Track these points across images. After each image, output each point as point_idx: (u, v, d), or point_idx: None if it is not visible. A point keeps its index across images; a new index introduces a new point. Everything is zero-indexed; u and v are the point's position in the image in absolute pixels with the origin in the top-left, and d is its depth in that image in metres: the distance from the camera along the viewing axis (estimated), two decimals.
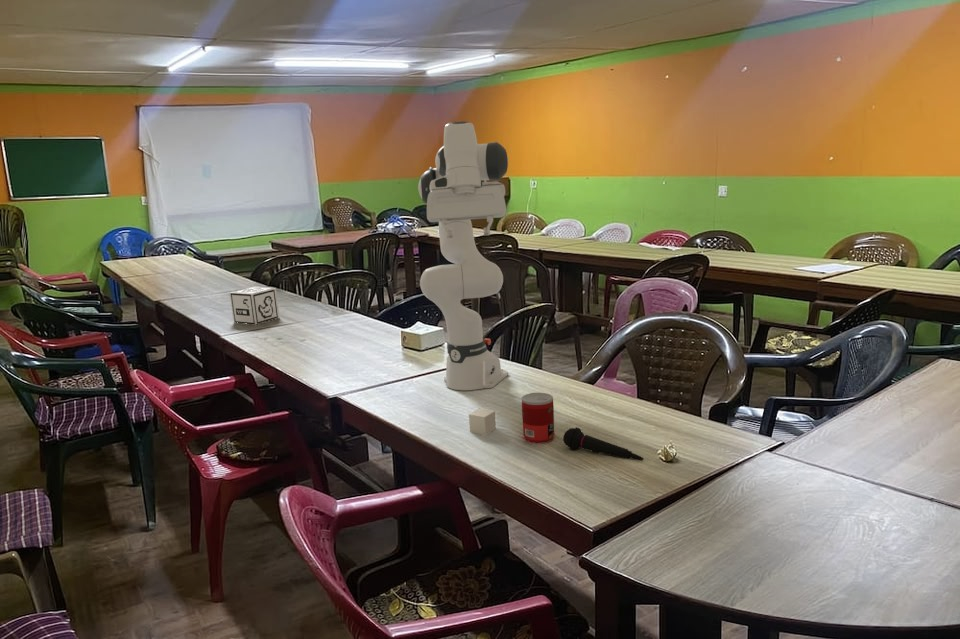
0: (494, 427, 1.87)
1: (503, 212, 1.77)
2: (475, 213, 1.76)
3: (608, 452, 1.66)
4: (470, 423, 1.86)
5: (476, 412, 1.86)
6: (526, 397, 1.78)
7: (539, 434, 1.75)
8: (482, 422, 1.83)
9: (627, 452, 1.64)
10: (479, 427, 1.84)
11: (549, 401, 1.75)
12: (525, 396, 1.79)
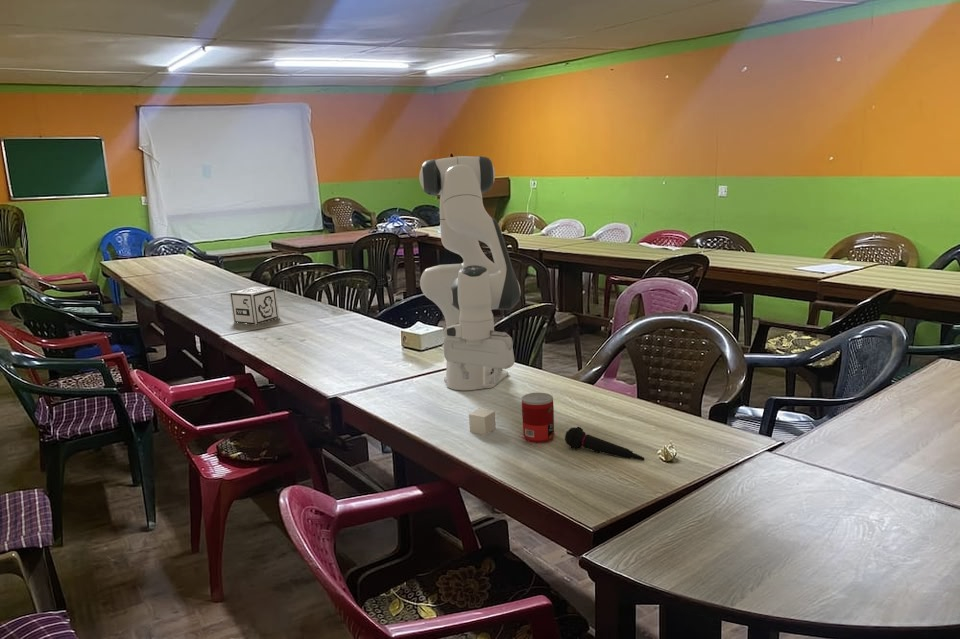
0: (494, 427, 1.87)
1: (505, 367, 1.76)
2: (481, 363, 1.80)
3: (609, 452, 1.66)
4: (470, 423, 1.86)
5: (476, 412, 1.86)
6: (526, 397, 1.78)
7: (539, 434, 1.75)
8: (482, 422, 1.83)
9: (628, 452, 1.64)
10: (479, 427, 1.84)
11: (549, 401, 1.75)
12: (525, 396, 1.79)
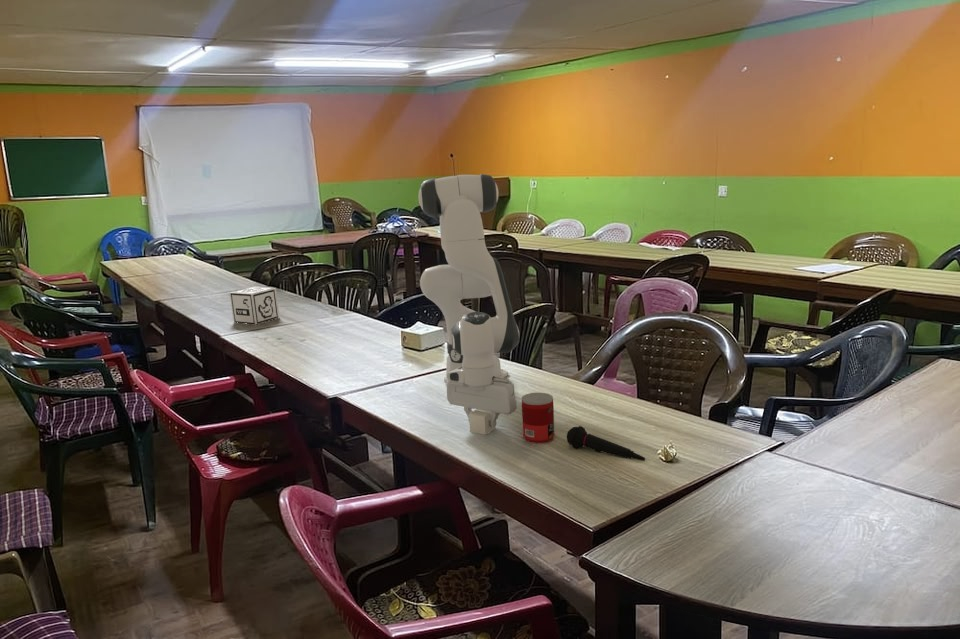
0: None
1: (507, 413, 1.79)
2: (484, 408, 1.83)
3: (610, 451, 1.66)
4: (470, 423, 1.86)
5: (476, 412, 1.86)
6: (526, 397, 1.78)
7: (539, 434, 1.75)
8: (482, 422, 1.83)
9: (629, 452, 1.64)
10: (479, 426, 1.84)
11: (549, 401, 1.75)
12: (525, 396, 1.79)
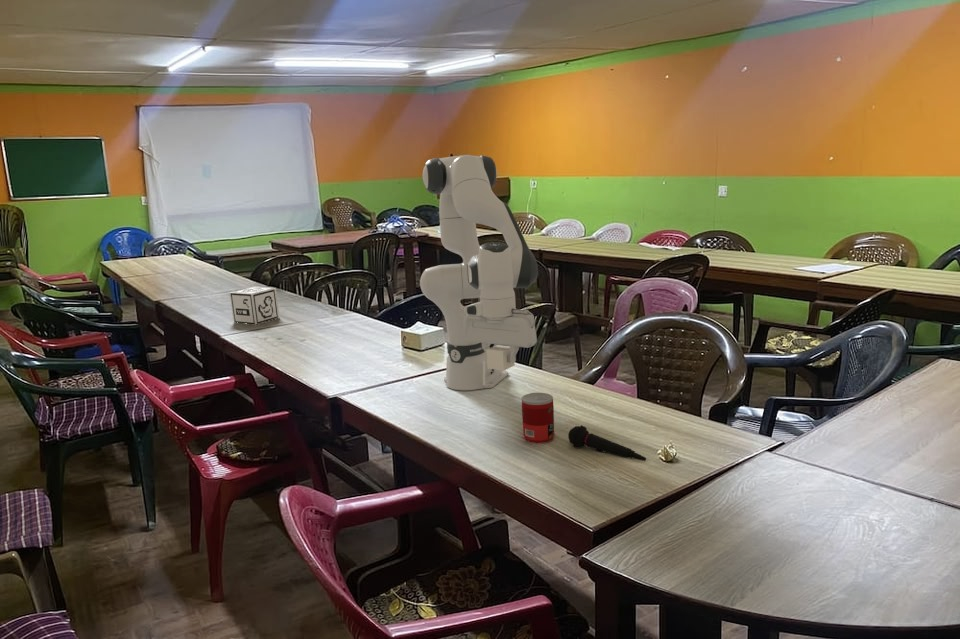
0: (513, 363, 1.79)
1: (527, 346, 1.71)
2: (503, 342, 1.75)
3: (611, 451, 1.67)
4: (488, 359, 1.78)
5: (494, 348, 1.79)
6: (526, 397, 1.78)
7: (539, 434, 1.75)
8: (500, 357, 1.75)
9: (630, 452, 1.65)
10: (497, 362, 1.76)
11: (549, 401, 1.75)
12: (525, 396, 1.79)
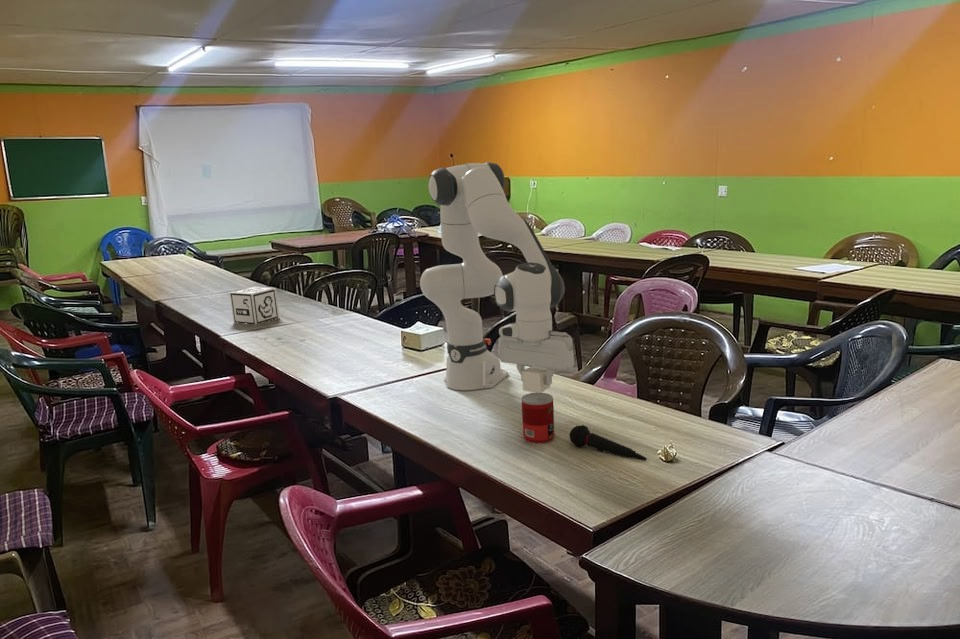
0: (549, 385, 1.76)
1: (565, 369, 1.68)
2: (539, 365, 1.72)
3: (612, 451, 1.67)
4: (523, 381, 1.75)
5: (530, 369, 1.76)
6: (526, 397, 1.78)
7: (539, 434, 1.75)
8: (537, 379, 1.73)
9: (630, 451, 1.65)
10: (533, 384, 1.74)
11: (549, 401, 1.75)
12: (525, 396, 1.79)
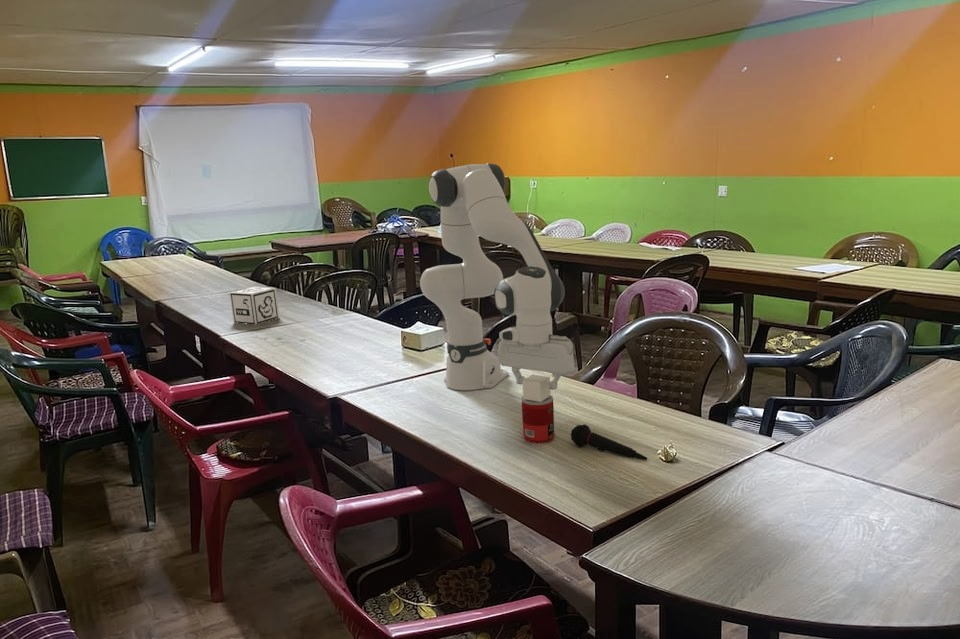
0: (549, 394, 1.77)
1: (565, 373, 1.69)
2: (539, 369, 1.73)
3: (613, 450, 1.67)
4: (524, 389, 1.76)
5: (530, 378, 1.76)
6: None
7: (539, 434, 1.75)
8: (537, 388, 1.73)
9: (631, 451, 1.65)
10: (533, 393, 1.74)
11: (549, 401, 1.75)
12: None
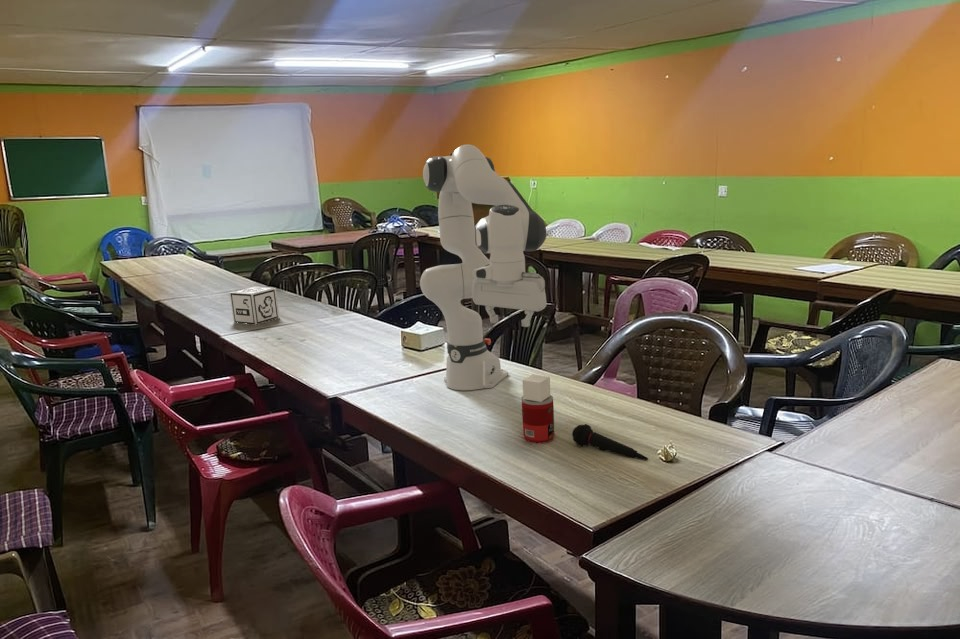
0: (549, 394, 1.77)
1: (537, 310, 1.72)
2: (512, 306, 1.75)
3: (614, 450, 1.67)
4: (524, 389, 1.76)
5: (530, 378, 1.76)
6: None
7: (539, 434, 1.75)
8: (537, 388, 1.73)
9: (632, 451, 1.65)
10: (533, 393, 1.74)
11: (549, 401, 1.75)
12: None
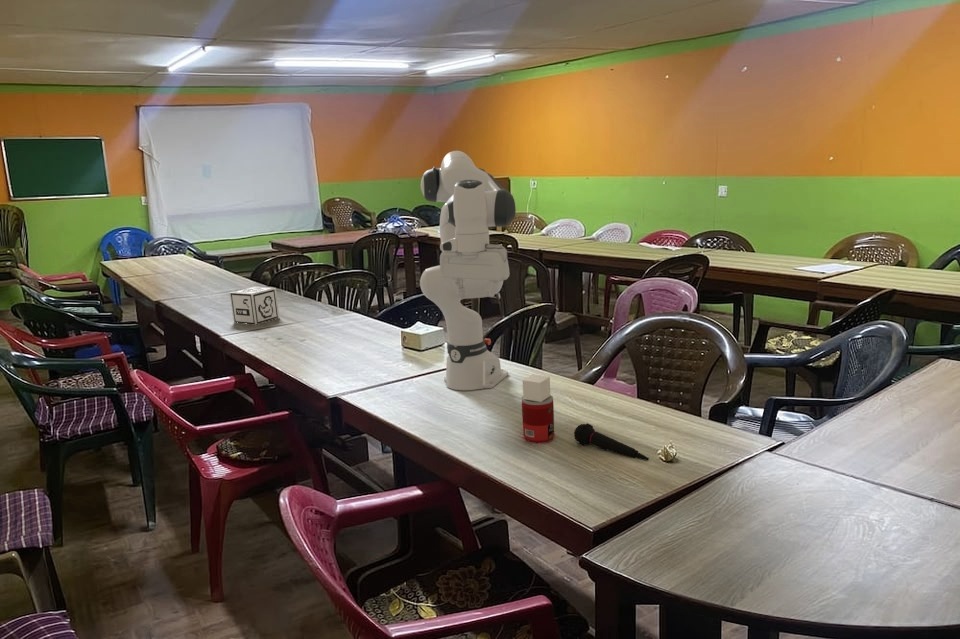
0: (549, 394, 1.77)
1: (500, 279, 1.78)
2: (477, 277, 1.82)
3: (615, 450, 1.67)
4: (524, 389, 1.76)
5: (530, 378, 1.76)
6: None
7: (539, 434, 1.75)
8: (537, 388, 1.73)
9: (633, 451, 1.65)
10: (533, 393, 1.74)
11: (549, 401, 1.75)
12: None
